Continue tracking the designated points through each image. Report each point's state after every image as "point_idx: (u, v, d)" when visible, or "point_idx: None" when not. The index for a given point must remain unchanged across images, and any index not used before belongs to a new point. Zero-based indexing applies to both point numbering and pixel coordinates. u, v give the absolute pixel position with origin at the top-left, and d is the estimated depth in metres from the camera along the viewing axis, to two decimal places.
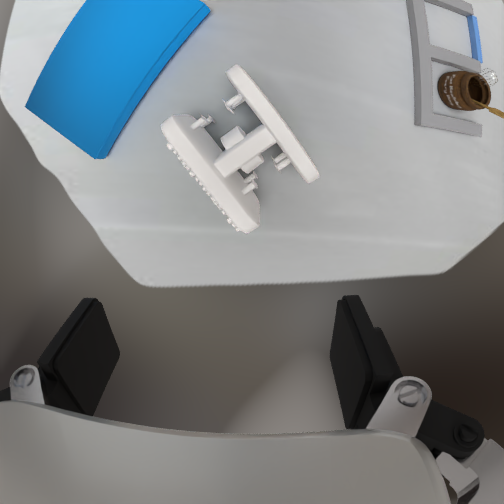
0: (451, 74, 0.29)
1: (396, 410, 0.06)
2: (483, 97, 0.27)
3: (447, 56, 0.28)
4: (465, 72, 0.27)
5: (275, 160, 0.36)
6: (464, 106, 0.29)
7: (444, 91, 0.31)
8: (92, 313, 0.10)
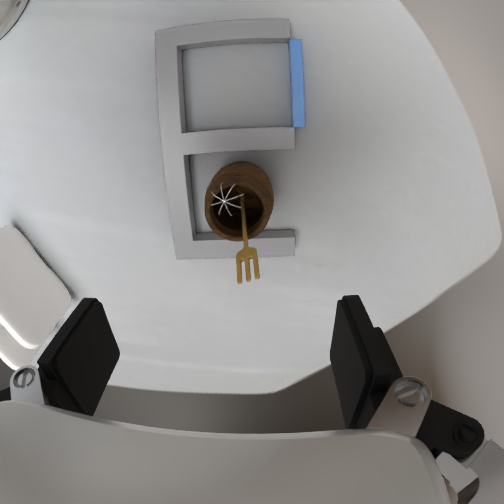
0: (213, 178, 0.26)
1: (396, 410, 0.06)
2: (263, 212, 0.24)
3: (216, 142, 0.25)
4: (224, 176, 0.24)
5: None
6: None
7: None
8: (92, 313, 0.10)
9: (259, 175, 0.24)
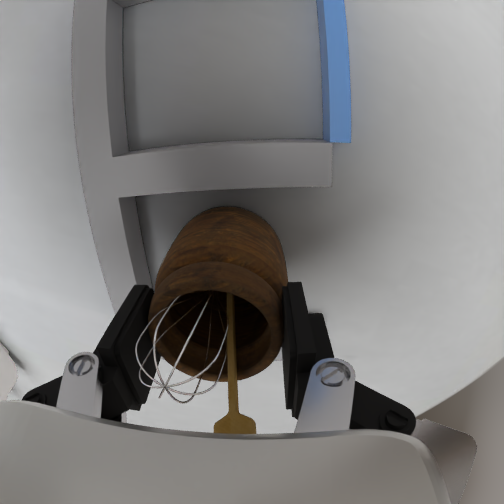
0: (171, 246, 0.13)
1: (323, 393, 0.07)
2: None
3: (177, 173, 0.13)
4: (188, 254, 0.11)
5: None
6: None
7: None
8: (146, 299, 0.11)
9: (262, 249, 0.12)
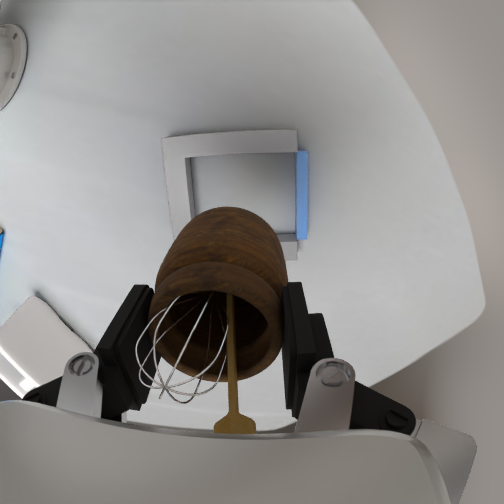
0: (171, 246, 0.13)
1: (323, 393, 0.07)
2: (269, 326, 0.12)
3: None
4: (188, 254, 0.11)
5: None
6: None
7: None
8: (146, 299, 0.11)
9: (262, 249, 0.12)
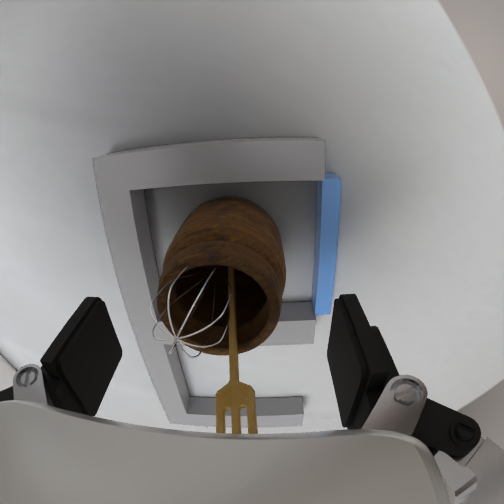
0: (178, 231, 0.14)
1: (392, 408, 0.06)
2: (268, 303, 0.13)
3: None
4: (194, 235, 0.12)
5: None
6: None
7: None
8: (95, 312, 0.10)
9: (261, 232, 0.13)
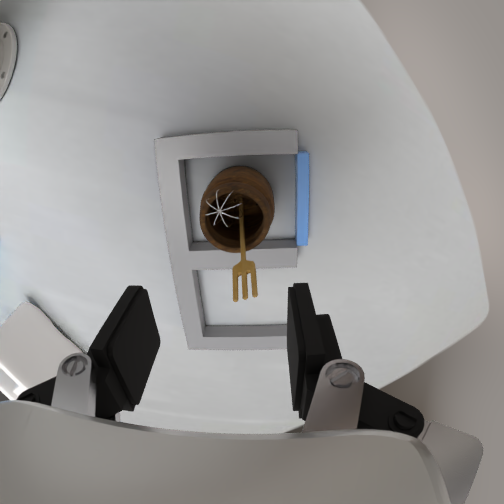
0: None
1: (332, 394, 0.07)
2: (263, 221, 0.23)
3: (223, 261, 0.28)
4: (222, 181, 0.22)
5: None
6: None
7: None
8: (139, 300, 0.11)
9: (259, 181, 0.23)
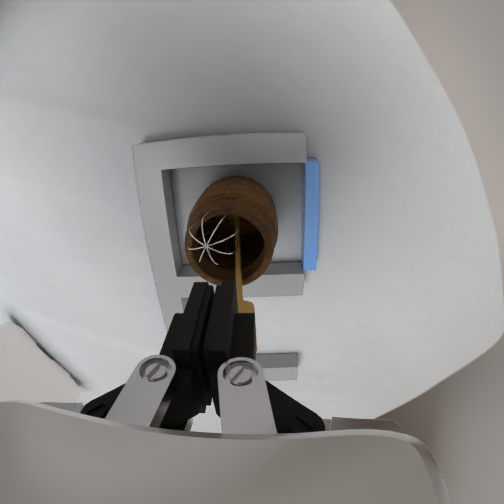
0: (199, 198, 0.20)
1: (237, 393, 0.07)
2: (264, 248, 0.18)
3: None
4: (213, 198, 0.18)
5: None
6: None
7: None
8: (209, 296, 0.11)
9: (260, 197, 0.18)
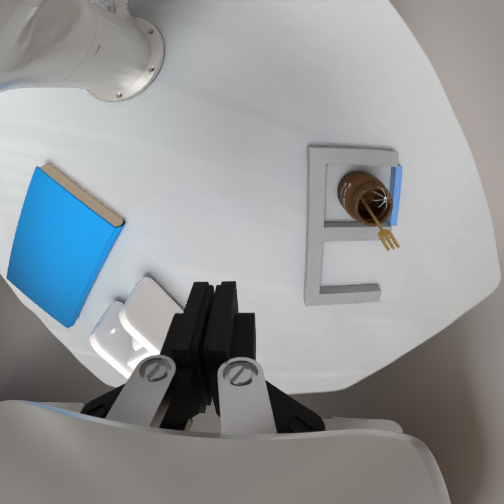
0: (349, 181, 0.35)
1: (237, 393, 0.07)
2: (385, 207, 0.34)
3: (345, 234, 0.40)
4: (363, 181, 0.33)
5: None
6: (357, 220, 0.36)
7: (340, 199, 0.38)
8: (209, 296, 0.11)
9: None
